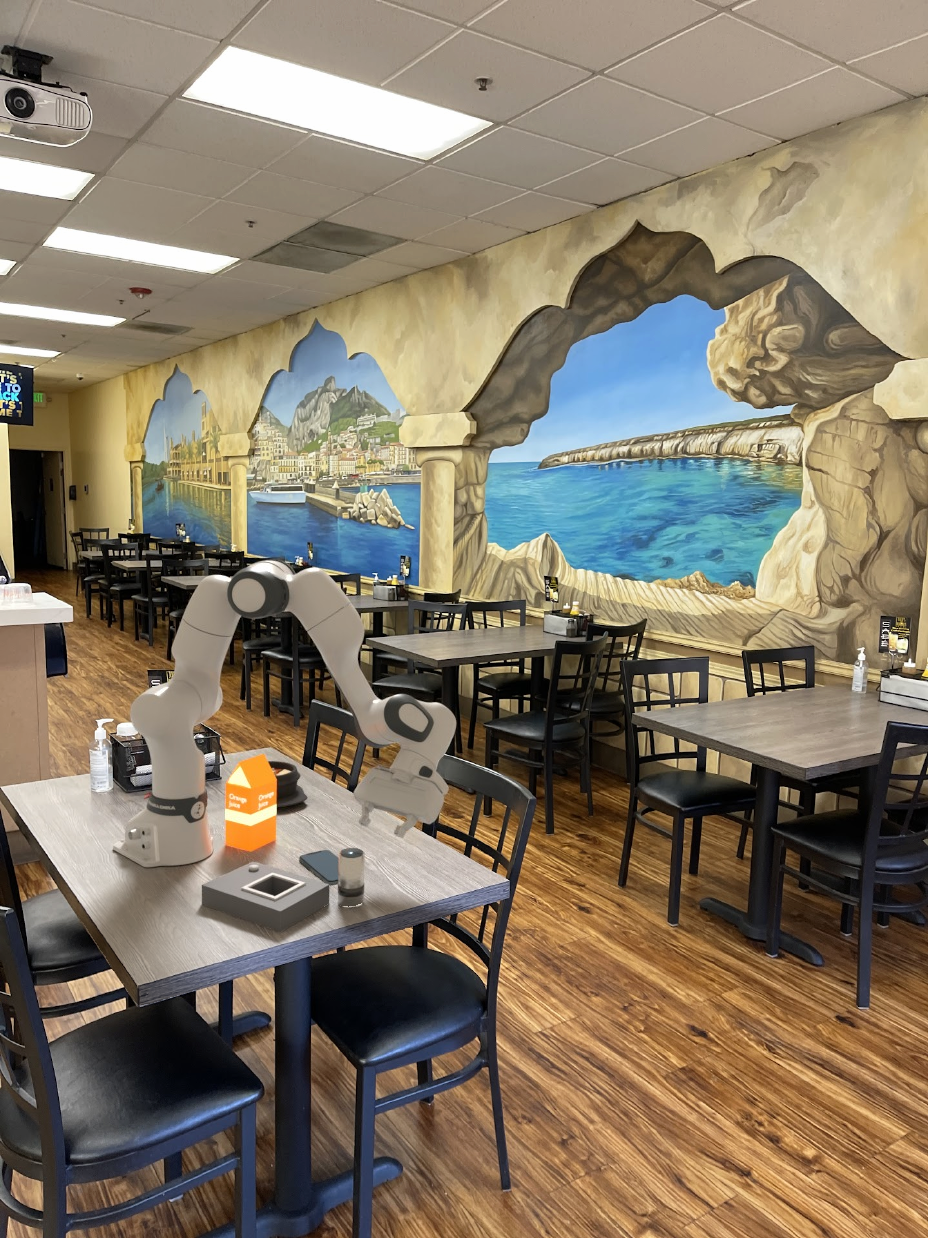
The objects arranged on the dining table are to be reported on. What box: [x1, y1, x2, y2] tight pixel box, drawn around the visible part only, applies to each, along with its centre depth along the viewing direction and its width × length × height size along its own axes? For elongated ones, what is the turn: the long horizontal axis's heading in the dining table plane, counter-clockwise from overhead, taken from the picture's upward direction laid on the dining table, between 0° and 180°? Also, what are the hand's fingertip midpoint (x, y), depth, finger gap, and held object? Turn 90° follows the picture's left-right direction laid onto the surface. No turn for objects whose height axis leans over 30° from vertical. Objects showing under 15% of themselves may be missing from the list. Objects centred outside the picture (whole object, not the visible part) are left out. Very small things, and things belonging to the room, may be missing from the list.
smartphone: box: [298, 849, 339, 886], centre depth 185 cm, size 8×2×15 cm
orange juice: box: [224, 753, 278, 852], centre depth 198 cm, size 8×9×20 cm
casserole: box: [267, 760, 308, 808], centre depth 229 cm, size 25×19×8 cm
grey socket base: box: [201, 860, 330, 933], centre depth 167 cm, size 20×14×5 cm
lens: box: [337, 847, 366, 907], centre depth 169 cm, size 5×5×10 cm
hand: (379, 830), depth 175 cm, fingers open, 8 cm apart
